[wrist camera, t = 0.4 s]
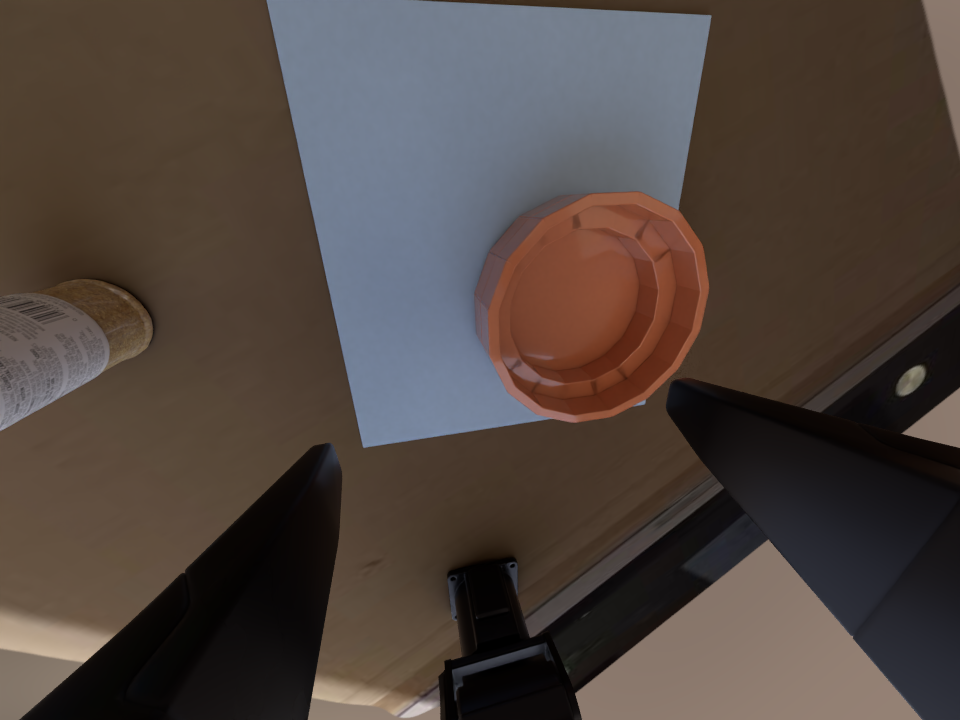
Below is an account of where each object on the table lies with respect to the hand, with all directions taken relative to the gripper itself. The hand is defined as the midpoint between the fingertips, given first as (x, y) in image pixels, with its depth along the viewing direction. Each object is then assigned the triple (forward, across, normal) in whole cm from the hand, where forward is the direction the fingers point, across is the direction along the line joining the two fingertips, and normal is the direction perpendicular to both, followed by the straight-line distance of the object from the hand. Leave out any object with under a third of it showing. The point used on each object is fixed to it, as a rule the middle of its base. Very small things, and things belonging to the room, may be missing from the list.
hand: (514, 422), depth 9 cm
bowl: (+14, -8, +2) cm, 17 cm away
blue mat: (+14, -4, -1) cm, 15 cm away
